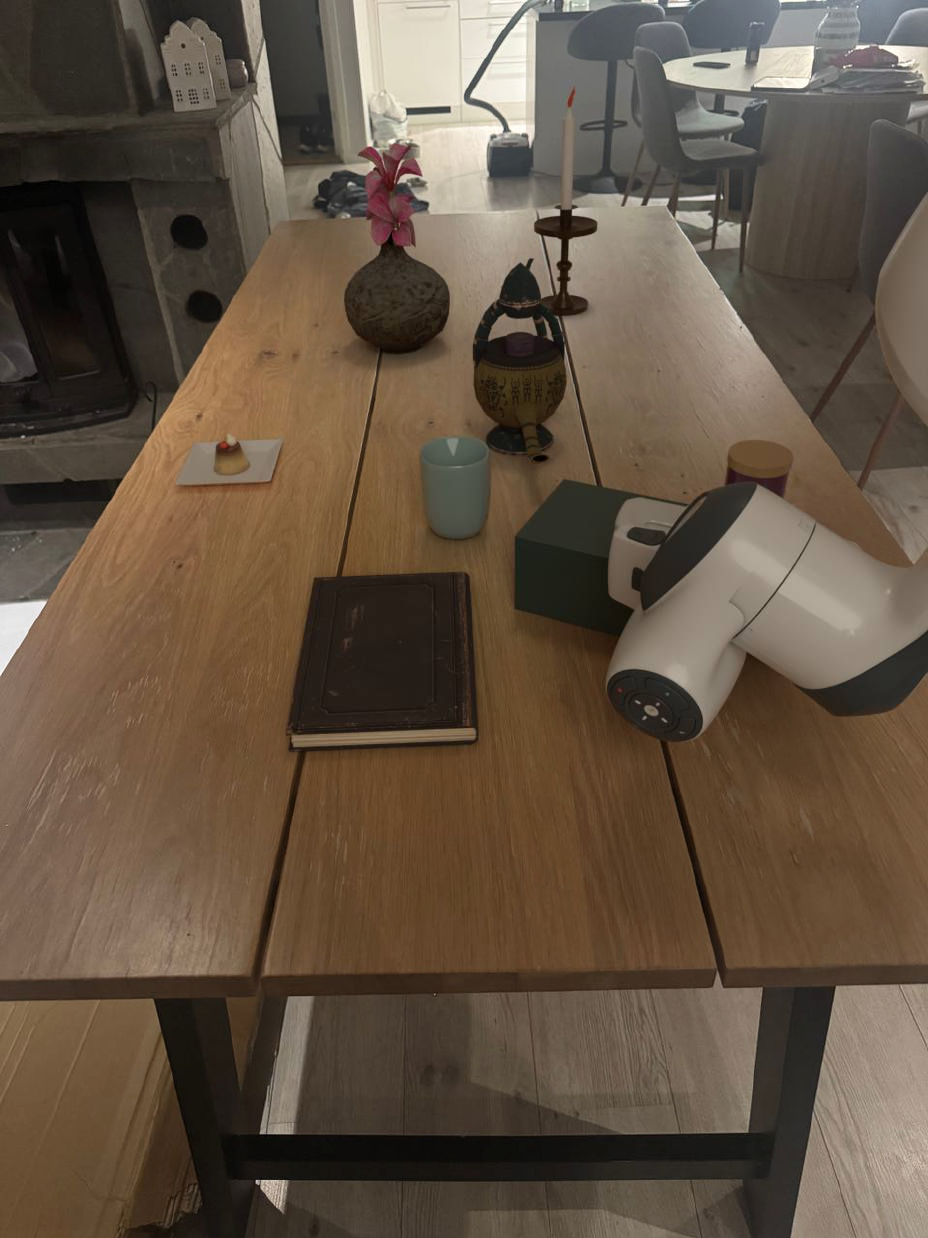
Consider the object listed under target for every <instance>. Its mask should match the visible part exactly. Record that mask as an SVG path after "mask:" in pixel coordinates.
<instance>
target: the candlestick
mask: <svg viewBox="0 0 928 1238" xmlns="http://www.w3.org/2000/svg"><path fill="white" fill-rule="evenodd" d="M575 88H576V87H575V85H574V86H573V89H572V90H571V92H570V94H569V97H568V100H567V107H568V108H567V111H566V115H565V117H563V121H562V123H563V124H562V149H561V150H562V152H561V153H562V154H561V156H562V157H561V185H560V204H558V205H554V209H556V210H559V215H552V216H546V217H542V218H539V219H537V220H535V221H534V223H533V232H534V233H535V234H537V235H539V236H542V237H546V238H547V237H548V238H555V239H556V238H557V239H558V240H560V260H558V261H556V264H555V266H556V269H557V270H558V271H559V276H557V277H556V281H557V282H559V291H558V293H557V294H552V295H548V296H544V297H541V302H540V303H541V304H542V305H543V306H545V307H546V308H549V309H550V311H551V312H552V314H553V315H554V316H557V317H566V316H567V317H569V316H576V315H580V314H583V313H585V312H587V310H588V309H589V301H588V300H587V299H586V298H584V297H582V296H578V295H574V294H569V292H568V282H570V281H571V280H572V278H571V276H569V271H570V270H571V269H572V267H573V262H572V261H571V260H569V253H570V252H569V251H570V250H569V249H570V240H572V239H574V238H581V237H587V236H591V235H594V234H596V232H597V231H598V221H597V220H596V219H593V218H591V217H587V216H581V215H573V210H576V209H579V206H578V205H576V204H573V184H574V161H575V160H574V158H575V133H576V132H575V131H576V130H575V129H576V128H575V127H576V118H575V117H573V112H572V105H573V101H574V96H575V94H576V89H575Z"/></svg>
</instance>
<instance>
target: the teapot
mask: <svg viewBox="0 0 928 1238" xmlns="http://www.w3.org/2000/svg"><path fill="white" fill-rule="evenodd" d="M534 261H535V258H533V257H531V258H529V259H528V260H527V262H526V265H524V263H522V262H521V261H520V262H519V263H517V264H516V265H515V266H514V267H513V268H512V269H510V271H509V272H508V274H507V275H506V276H505V278H504V280H503V284H502V286H501V289H500V293H499V298H497V299H495V301H493V302H492V303H491V304H490V306H489V307H488V308H487V309H486V310H485V311H484V313H483V315H482V317H481V319H480V321H479V323H478V325H477V328H476V331H475V333H474V338H473V343H472V363H473V390H474V395H475V399H476V401H477V402H478V405H479V406H480V408H481V409H482V411H483V413H484V414H485V415H486V416H487V417H489V419H490V420H492V421H493V422H494V423H496V426H495V427H493V428H492V429H491V430H489V432H487V434H486V436H485V443H486V444H487V446H488V447H489V450H491V451H493V452H494V453H498V454H500V455H504V456H511V457H528V460H529V461H530V463H532V464H535V465H536V464H537V465H540V464H546V463H547V462H549V461H550V460H551V456H550V455H549V454H547V453H544V452H546V451H547V450H549V449H550V448H551V447H552V446H553V445H554V435H553V433H552V432H551V430H550V429H548V428H547V427H545V426H544V425H543V423H544V422H545V421H547V420H548V419H550V418H551V417H552V416H553V415H554V414H555V413H556V411H557V410H558V408H559V406H560V405H561V403H562V401H563V400H564V398H565V393H566V389H567V367H566V365H565V355H566V354H565V350H566V349H565V348H566V341H565V340H564V331H562V329H561V325H560V322H559V318H556V315H553V314H552V312H551V311H550V309H549V308H546V307H545V306H543V305H542V304H541V303H540V302H541V299H542V294H541V290H540V285H539V283H538V281H537V278H536V276H535V275H534V273H533V272H532V270H531V268H532V267H531V266H532V264H533V262H534ZM503 315H506V317H508V318H510V319H515V320H525V319H531V318H532V321H533V324H534V326H535V331H536V335H534V334H533V333H531V332H527V331H515V332H511V333H508V334H506V335H502V336H499V337H494V338H492V339H490V338H489V336H490V333H491V332H492V329H493V328H492V327H493V326H494V325H495V323H496V322H497V321H498V319H499V318H500V317H502V316H503ZM545 321H546V322H547V325H548V328H549V330H550V336H551V338H552V339H550V338H549V336H548V330H547V326H546V322H545ZM489 339H490V340H489Z"/></svg>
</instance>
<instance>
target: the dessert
mask: <svg viewBox="0 0 928 1238" xmlns="http://www.w3.org/2000/svg"><path fill="white" fill-rule="evenodd" d="M283 441H284V439H283V438H264V439H263V438H262V439H237V437H236V436H235V435H232V434H229V433H227V434H226V436H225V437H224V439H223V440H216V441H215V440H212V441H211V440H210V441H194V442H193V443H192V446H191V448H190V450H189V452H188V454H187V456H186V458H185V460H184V463H183V464H182V466H181V469H180V470H179V473H178V475H177V477H176V479H175V481H174V484H173V485H175V486H183V487H184V486H185V487H203V486H205V487H206V486H226V485H227V486H228V485H249V484H251V485H253V484H264V483H267V482H270V481H272V478H273V474H274V472H275V471H274V470H275V467H276V464H277V461H278V457H279V454H280V450H281V447H282V444H283Z"/></svg>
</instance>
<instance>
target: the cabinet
mask: <svg viewBox="0 0 928 1238" xmlns="http://www.w3.org/2000/svg"><path fill="white" fill-rule="evenodd" d="M639 497H640V498H646V499H650V500H655V501H660V502H665V503H670V504H675V505H679V506H684V507H687V506H688V505H690V504H691V503H690V504H689V503H685V502H680V501H675V500H670V499H664V498H659V497H655V496H651V495H646V494H640V493H635V492H632V491H625V490H621V489H617V488H611V487H605V486H601V485H595V484H590V483H585V482H581V481H575V480H572V479H571V480H570V479H565V478H564V479H562V480H561V481H560V483H559V484H558V485H557V486H556V487H555V489H554V490H553V491H552V492H551V493H550V494H549V496H548V497H546V499H545V500H544V501H543V502H542V504H541V505H540V506H539V507H538V508H537V510H536V511H535V512H534V513H533V514H532V515H531V517H530V518H528V520H527V521H526V522H525V524H523V526H522V527H521V528H520V529H519V531H518V532H517V533H516V534H515V535H514V609H515V610H519V611H523V612H526V613H529V614H530V613H531V614H534V615H537V616H541V617H544V618H549V619H553V620H556V621H560V622H564V623H567V624H571V625H575V626H580V627H583V628H587V629H590V630H593V631H598V632H600V633H601V632H602V633H604V634H609V635H612V636H616V637H620V636H621V634H622V632H623V630H624V628H625V626H626V624H627V622H628V621H629V619H630V617H631V615H632V614H633V612H634V609H632V608H630V607H628V606H626V605H624V604H622V603H620V602H618V601H616V600H615V599H613V598H612V597H611V596H610V595H609V590H608V561H609V553H610V547H611V542H612V538H613V534H614V528H615V520H616V517H617V515H618V512H619V510H620V508H621V507H622V505H623V504H624V502H625V501H627V500H629V499H633V498H639Z"/></svg>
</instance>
